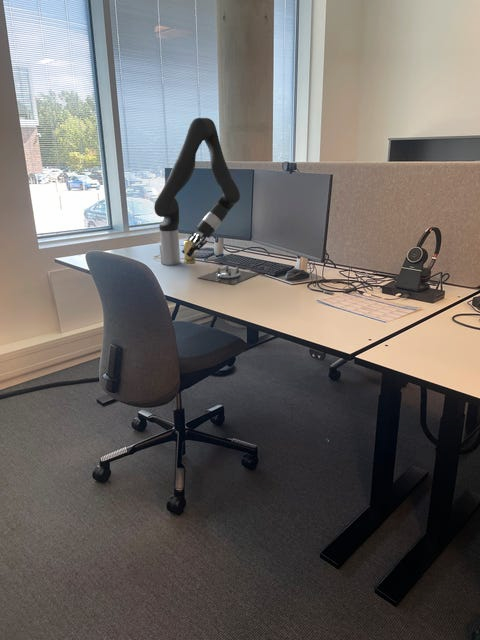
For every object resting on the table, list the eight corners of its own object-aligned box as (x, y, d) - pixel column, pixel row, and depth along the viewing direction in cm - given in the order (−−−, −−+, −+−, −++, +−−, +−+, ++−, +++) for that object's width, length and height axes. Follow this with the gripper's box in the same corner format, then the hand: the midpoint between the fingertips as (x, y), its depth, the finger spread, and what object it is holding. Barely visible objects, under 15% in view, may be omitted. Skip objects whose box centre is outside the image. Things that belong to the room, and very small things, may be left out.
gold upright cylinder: (181, 263, 207) (180, 241, 203) (189, 260, 211) (188, 239, 207) (190, 264, 204) (189, 242, 200) (198, 262, 208) (197, 240, 204)
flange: (197, 278, 207) (197, 269, 206) (224, 268, 222) (224, 260, 221) (233, 285, 196) (232, 275, 194) (258, 274, 211) (258, 265, 209)
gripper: (196, 217, 209) (173, 246, 208) (210, 221, 198) (186, 252, 197) (207, 227, 214) (185, 256, 213) (221, 232, 202) (197, 262, 201)
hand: (185, 254), depth 205 cm, fingers closed on gold upright cylinder, 4 cm apart
